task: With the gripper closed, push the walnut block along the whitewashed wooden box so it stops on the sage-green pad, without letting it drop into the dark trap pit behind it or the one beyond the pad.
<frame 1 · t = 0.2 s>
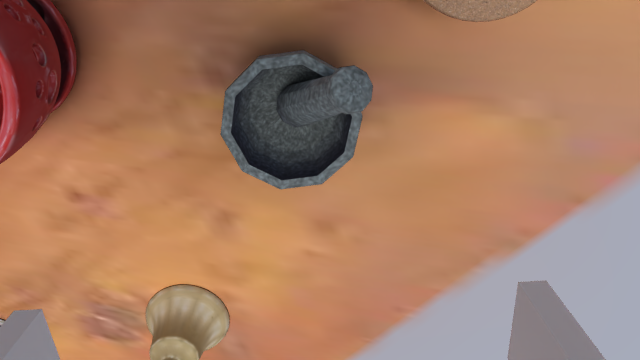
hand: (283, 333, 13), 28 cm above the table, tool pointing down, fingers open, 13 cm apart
plant pot: (13, 48, 37), on the table
hand bell: (188, 316, 48), on the table
mortar and pestle: (300, 93, 39), on the table
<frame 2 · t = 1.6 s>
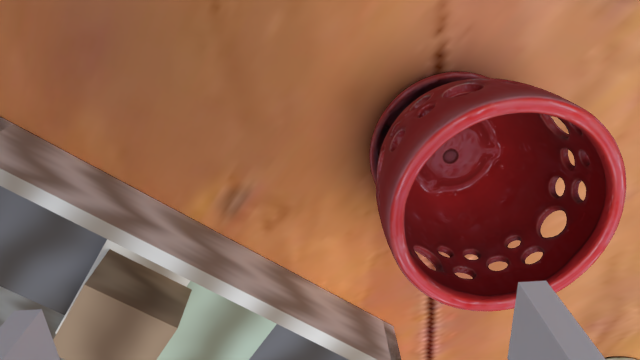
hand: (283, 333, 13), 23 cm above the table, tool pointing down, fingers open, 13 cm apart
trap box: (174, 297, 41), on the table
plant pot: (448, 142, 36), on the table
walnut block: (132, 300, 38), point 2 cm above the table, touching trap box
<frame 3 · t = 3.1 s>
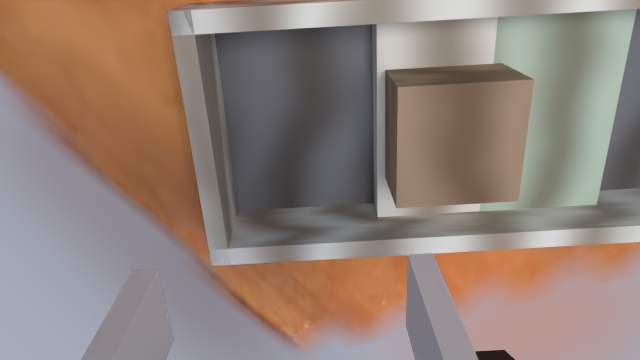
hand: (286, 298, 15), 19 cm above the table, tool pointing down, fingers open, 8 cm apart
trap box: (475, 109, 32), on the table
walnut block: (440, 122, 30), point 2 cm above the table, touching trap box
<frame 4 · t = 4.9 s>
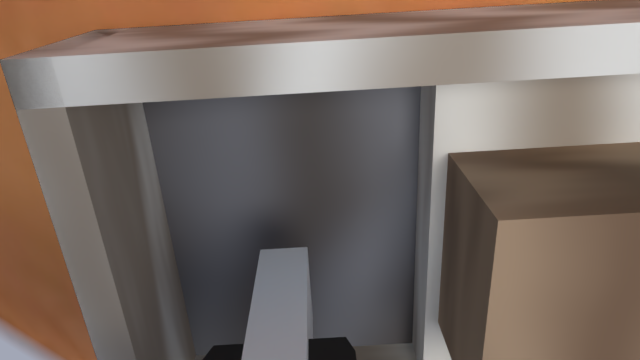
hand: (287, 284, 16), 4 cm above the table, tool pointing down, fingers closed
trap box: (587, 202, 19), on the table
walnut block: (541, 239, 17), point 2 cm above the table, touching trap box
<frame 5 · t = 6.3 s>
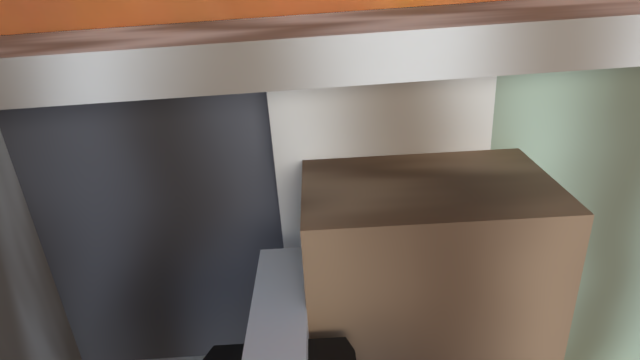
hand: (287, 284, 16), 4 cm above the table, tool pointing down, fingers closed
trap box: (461, 207, 19), on the table
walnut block: (407, 246, 17), point 3 cm above the table, touching gripper
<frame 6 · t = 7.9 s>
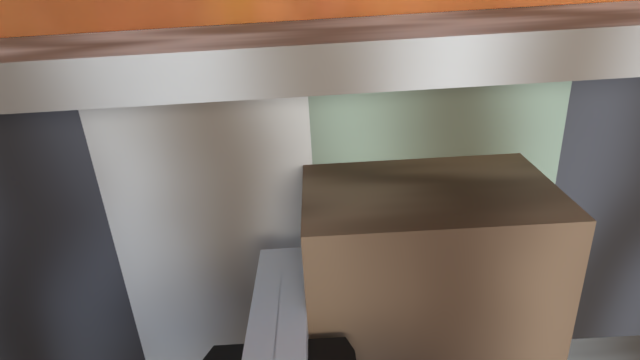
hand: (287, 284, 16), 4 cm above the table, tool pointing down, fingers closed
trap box: (317, 221, 19), on the table
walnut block: (408, 251, 17), point 2 cm above the table, touching gripper, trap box
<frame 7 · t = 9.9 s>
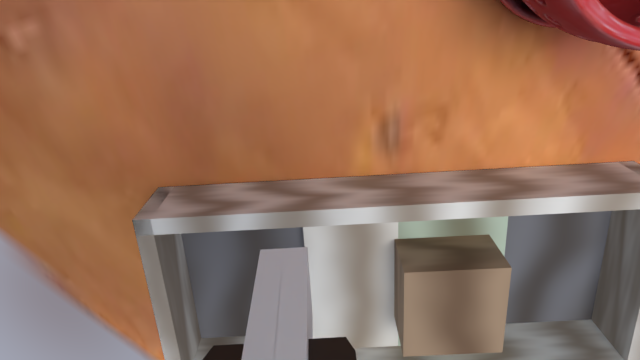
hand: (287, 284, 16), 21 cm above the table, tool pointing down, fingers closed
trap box: (393, 261, 39), on the table
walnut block: (439, 276, 37), point 2 cm above the table, touching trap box
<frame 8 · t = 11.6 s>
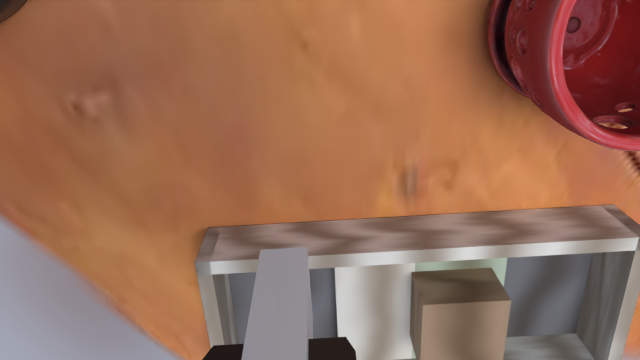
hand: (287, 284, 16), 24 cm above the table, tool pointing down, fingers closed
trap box: (408, 287, 46), on the table
plant pot: (561, 15, 36), on the table
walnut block: (449, 301, 43), point 2 cm above the table, touching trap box
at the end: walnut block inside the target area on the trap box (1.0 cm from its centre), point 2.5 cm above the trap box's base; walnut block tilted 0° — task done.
